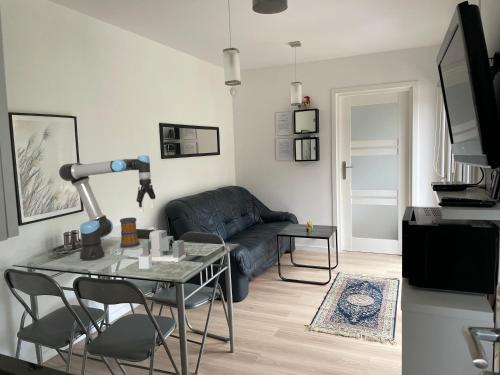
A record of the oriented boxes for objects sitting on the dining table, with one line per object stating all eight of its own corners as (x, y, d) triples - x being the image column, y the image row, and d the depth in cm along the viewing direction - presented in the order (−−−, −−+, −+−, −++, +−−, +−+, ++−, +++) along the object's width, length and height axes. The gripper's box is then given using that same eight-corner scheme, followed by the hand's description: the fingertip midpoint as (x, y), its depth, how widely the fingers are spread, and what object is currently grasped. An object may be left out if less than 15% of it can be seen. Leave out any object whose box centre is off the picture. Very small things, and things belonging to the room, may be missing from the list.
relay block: (139, 268, 223) (138, 256, 222) (142, 266, 228) (141, 253, 227) (149, 268, 222) (148, 255, 222) (152, 266, 227) (151, 253, 227)
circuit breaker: (171, 256, 237) (170, 233, 235) (150, 256, 240) (149, 232, 239) (176, 253, 244) (175, 230, 243) (156, 253, 247) (154, 230, 246)
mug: (126, 242, 292) (124, 216, 290) (144, 241, 292) (143, 215, 290) (116, 248, 273) (114, 221, 271) (136, 247, 272) (134, 220, 271)
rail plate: (142, 260, 241) (140, 241, 239) (151, 255, 251) (149, 237, 250) (178, 261, 234) (176, 242, 233) (185, 256, 244) (184, 238, 243)
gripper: (139, 180, 242) (142, 213, 244) (159, 177, 266) (161, 207, 268) (129, 180, 244) (131, 213, 246) (149, 177, 268) (151, 207, 270)
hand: (147, 210), depth 257 cm, fingers open, 13 cm apart
